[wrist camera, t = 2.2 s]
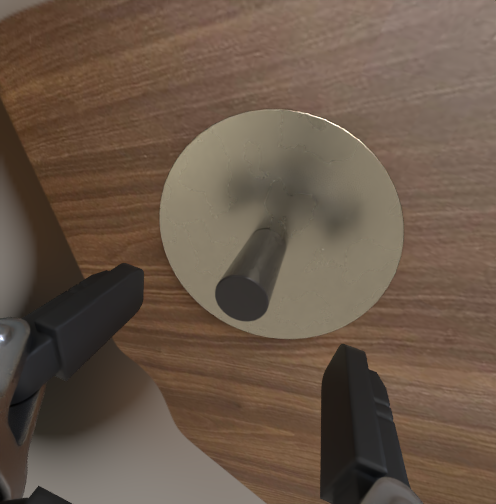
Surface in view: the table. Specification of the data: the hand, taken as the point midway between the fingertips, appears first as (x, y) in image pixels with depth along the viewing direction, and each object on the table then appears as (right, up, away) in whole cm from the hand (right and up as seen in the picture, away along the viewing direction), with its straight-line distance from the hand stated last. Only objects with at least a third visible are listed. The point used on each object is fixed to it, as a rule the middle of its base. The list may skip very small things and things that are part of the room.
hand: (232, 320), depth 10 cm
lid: (+2, +3, +6) cm, 7 cm away
